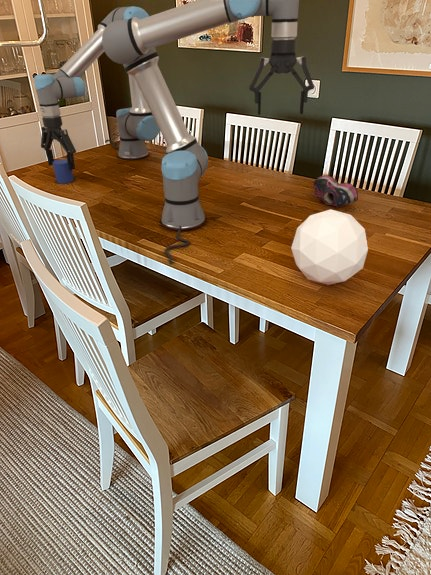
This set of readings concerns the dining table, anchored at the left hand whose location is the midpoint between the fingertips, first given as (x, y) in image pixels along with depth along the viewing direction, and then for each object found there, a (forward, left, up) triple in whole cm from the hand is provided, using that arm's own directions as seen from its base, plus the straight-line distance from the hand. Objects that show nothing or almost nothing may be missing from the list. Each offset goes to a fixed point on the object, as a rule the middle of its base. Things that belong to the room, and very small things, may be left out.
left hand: (61, 167), depth 194 cm
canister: (0, 0, -6) cm, 6 cm away
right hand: (+95, +25, +28) cm, 102 cm away
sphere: (+131, -7, -6) cm, 132 cm away
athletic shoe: (+107, +44, -6) cm, 115 cm away
